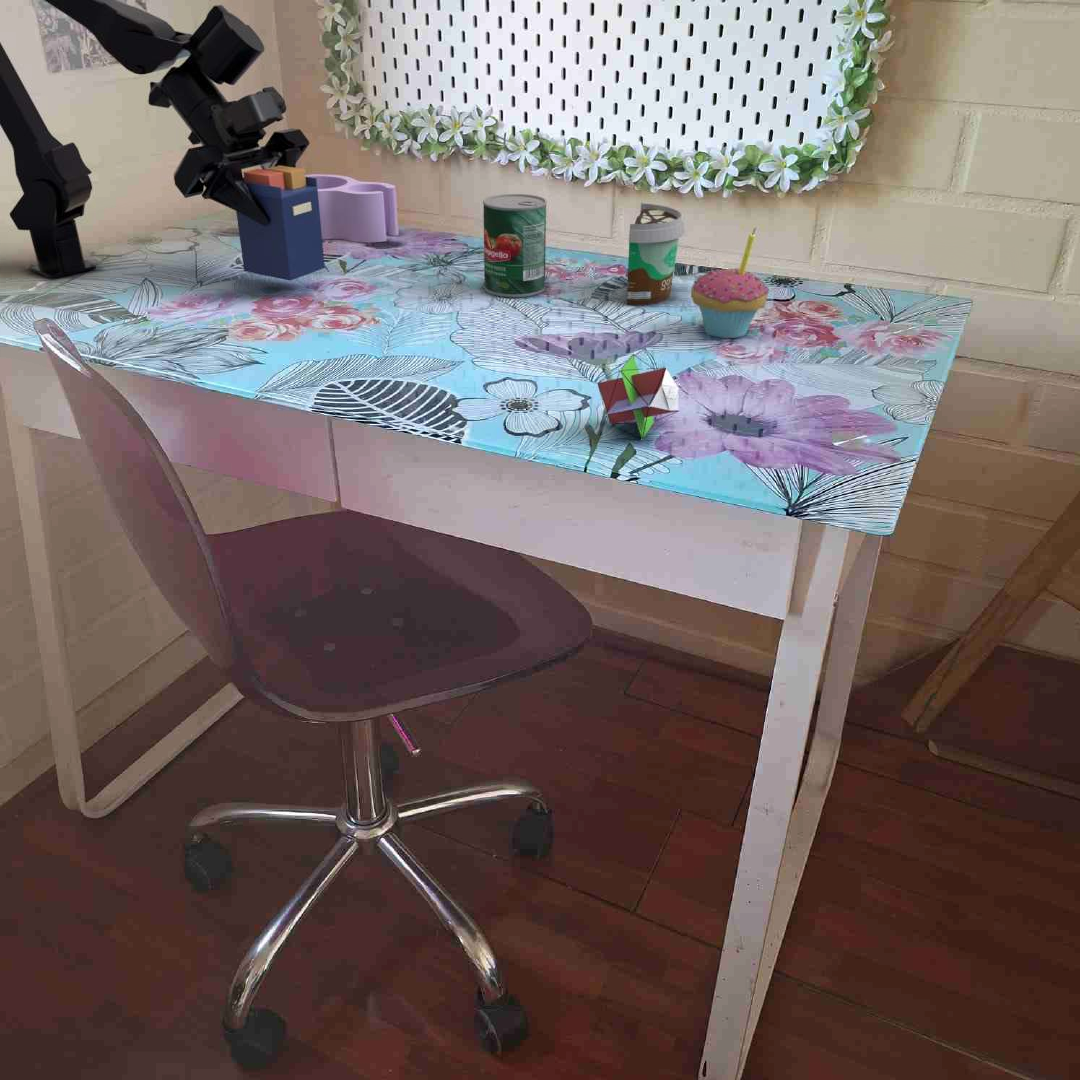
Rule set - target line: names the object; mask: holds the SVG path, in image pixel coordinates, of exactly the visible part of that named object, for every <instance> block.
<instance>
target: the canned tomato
mask: <svg viewBox="0 0 1080 1080" xmlns="http://www.w3.org/2000/svg"><path fill="white" fill-rule="evenodd" d="M482 204H483V214H482V215H483V265H484V266H483V270H484V272H483V274H484V275H483V276H484V277H483V278H484V286H483V288H484V291H485V292H486V293H488V294H490V295H493V296H497V297H501V298H527V297H534V296H537V295H539V294H542V293H544V291H546V244H547V241H546V240H547V238H546V237H547V233H546V232H547V204H548V200H546V198H544V197H542V196H538V195H534V194H526V193H505V194H504V193H502V194H496V195H491V196H488V197H486V198H484V199H483V201H482Z"/></svg>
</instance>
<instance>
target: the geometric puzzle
mask: <svg viewBox="0 0 1080 1080" xmlns="http://www.w3.org/2000/svg"><path fill="white" fill-rule="evenodd" d="M635 357H636V358H637V359H638V360H640V361H641V362H643V363H644V364H645V365H647V366H648V367H650V368H647V370H650V371H645V372H640V370H641V371H642V368H638V363H637V361H636V358H635ZM644 360H645V361H647V358H644ZM644 360H643V359H642V357H641V356H639V355H636V354H635V353H632V355H631V356H630V357H627V358H626V361H623V362H622V363H621V364H619V365H618V366H617V367H616V368H614V369H613V370H612V371H611V372H609V373H608V374H607V375H606V376H604V377H603V378H602V379H601V380H599V381H597V382H596V384H597V387H598V391H599V395H600V398H601V402H602V405H603V410H604V411H605V412H604V415H605V417H606V418H607V420H608V422H609V425H610V426H614V427H615V428H618V429H619V430H621V431H623V428H624V430H626V431H627V433H628V434H630V435H631V436H634V437H636V438H638V439H640V440H641V441H643V440H644V439H645V438H646V436H649V435H650V433H649V431H650V429H651V428H652V426H653V425H654V423H656V422H658V421H660V420H662V419H664V418H666V417H669V416H670V418H672V417H673V415H675V414H677V413H678V412H680V387H679V386H678V384H677V383H676V381H675V379H674V377H673V376H672V374H671V373H670V371H669V370H668V367H667V366H664V367H662V365H660V364H659V366H660V367H652V366H651V365H650V364H648V363H646V362H645V361H644ZM649 362H651V363H652V361H650V360H649ZM624 363H625V364H624ZM623 364H624V365H623ZM654 364H655V365H657V363H655V362H654ZM621 365H623V366H622V367H621V368H619V367H620V366H621ZM618 368H619V370H618V371H615V370H616V369H618ZM614 371H615V372H614ZM613 372H614V373H613ZM611 373H613V374H611ZM617 373H618V375H617V377H616V378H613V379H609V380H607V379H608V378H610V377H612V376H614V375H615V374H617ZM620 374H621V377H619V376H620ZM605 380H606V381H605ZM666 414H667V415H666ZM660 415H665V416H662V417H661V418H658V419H657V417H658V416H660ZM668 420H669V418H667V419H666V420H665V422H667V421H668ZM630 421H633V422H630ZM627 424H628V425H630V424H636V425H637V429H638V431H639V434H640V436H638V435H636V434H635V433H634V432H632V431H630V430H629V429H628V428H627V427H625V426H623V425H627ZM616 425H619V426H621V427H622V428H620V427H618V426H616ZM662 425H664V422H663V423H661V424H660V425H659V426H657V427H656V429H658V428H659V427H660V426H662ZM653 431H655V429H653V430H652V431H651V433H653Z"/></svg>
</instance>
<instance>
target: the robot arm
mask: <svg viewBox="0 0 1080 1080" xmlns="http://www.w3.org/2000/svg"><path fill="white" fill-rule="evenodd" d="M44 2H46V3H48V4H49V5H51V7H54V8H55V9H56V10H57V11H60V12H61V13H63V14H64V15H66V16H67V17H69V18H70V19H72V20H73V21H75V22H76V23H78V24H79V25H81V26H82V27H84V28H85V30H87V31H89V33H90V34H91V35H92V36H94V38H95V39H96V41H97V42H98V43H99V45H100V46H101V47H102V49H103V50H104V51H106V53H108V54H109V55H110V56H111V57H112V58H113V59H114V60H115V61H117V62H118V63H119V64H120V65H121V66H122V67H123V68H124V69H126V70H127V71H128V72H131V73H133V74H135V75H141V76H142V75H147V74H148V75H149V74H152V73H156V72H159V71H163V70H167V69H169V68H170V69H169V70H168V71H167V72H166V73H165V74H164V75H163V77H162V78H161V79H160V80H159V81H158V82H155V81H150V83H149V88H150V90H149V93H148V100H147V101H148V102H147V103H148V104H149V106H152V107H158V108H164V109H169V108H170V107H172V108H173V109H174V110H175V112H176V113H177V115H178V116H179V117H180V118H181V120H182V121H183V122H184V124H185V125H186V126H187V128H188V129H189V130H190V131H191V132H190V133H189V135H188V136H187V139H188V141H189V142H190V143H191V145H192V146H194V145H200V144H201V145H200V146H195V147H189V148H188V149H187V150H186V151H185V154H184V155H183V157H182V159H181V161H180V163H178V166H177V167H176V168H175V171H174V173H173V181H174V186H175V187H176V188H177V189H178V191H179V192H180V193H181V195H182V196H183V198H185V199H188V198H192V197H197V196H200V195H201V197H202V198H203V199H204V200H212V201H214V202H216V203H218V204H220V205H223V206H224V207H227V208H228V209H231V210H232V211H235V212H236V211H237V212H239V213H241V214H243V215H245V216H247V217H248V218H250V219H252V220H254V221H256V222H258V223H260V224H262V225H263V226H267V225H268V224H269V222H270V218H269V216H268V215H267V213H266V211H265V210H264V208H263V207H262V205H261V204H260V202H259V201H258V199H257V198H256V197H255V195H254V194H253V192H252V191H251V189H250V188H249V187H248V185H247V184H246V182H245V181H244V179H243V177H244V174H243V171H242V170H243V169H244V170H246V169H248V168H253V167H258V166H259V167H260V169H263V170H266V169H267V168H271V167H275V166H279V165H280V166H287V167H294V168H297V166H296V165H297V162H298V161H299V159H300V158H301V157H302V155H303V154H304V152H306V149H307V148H308V147H309V146H310V144H311V143H310V140H309V139H308V138H307V136H306V135H305V134H304V133H303V131H302V130H301V129H300V128H291V127H290V128H287V129H286V128H285V129H281V130H275V131H273V133H272V134H271V135H270V137H269V139H268V140H267V142H266V143H265V144H264V145H263V146H260V143H259V142H260V141H261V140H263V139H264V138H265V136H266V135H267V132H266V129H264V128H266V127H268V126H270V125H272V124H273V123H276V122H281V121H283V120H284V116H283V114H285V113H286V111H287V105H286V100H285V99H284V97H283V96H282V95H281V93H279V92H278V90H277V89H276V88H275V87H274V86H268V87H263V88H262V90H259V91H257V92H255V93H251V94H248V95H244V96H242V97H240V98H239V99H238V100H232V101H228V100H227V98H226V97H225V95H224V94H223V93H222V92H221V90H220V89H219V87H218V86H217V85H223V84H224V83H225V84H226V85H229V86H235V85H236V84H237V83H238V81H239V80H240V79H241V78H242V77H243V76H244V75H245V73H246V72H247V71H248V70H249V69H250V68H251V67H252V66H253V64H254V63H255V62H256V61H257V60H258V59H259V57H261V55H262V54H263V53H264V52H265V46H264V44H263V41H262V40H261V38H260V36H259V35H258V34H257V33H256V32H255V30H254V29H253V28H252V27H251V26H250V25H249V24H246V23H245V22H244V21H242V20H241V19H240V18H238V16H236V15H234V14H233V13H232V12H229V11H228V10H227V8H226V7H225V6H224V5H223V4H217V5H213V6H212V8H211V9H210V10H209V11H208V13H207V14H206V17H205V19H204V21H202V23H201V24H200V25H199V26H198V28H197V29H196V30H195V31H194V32H193V33H187V32H182V31H178V30H175V29H174V28H173V27H172V25H171V24H169V23H168V21H166V20H164V19H162V18H160V17H158V16H156V15H154V14H151V13H150V12H147V11H145V10H143V9H141V8H139V7H136V6H133V5H130V4H127V3H124V2H122V1H119V0H44ZM182 58H186V59H185V60H184V62H182V63H181V64H180V65H179V66H174V65H175V63H176V62H177V60H179V59H182ZM216 84H217V85H216ZM0 128H1V129H2V131H3V133H4V135H5V137H6V138H7V140H8V141H9V143H10V146H11V147H12V151H13V161H14V169H15V171H14V172H15V176H16V178H17V181H18V183H19V185H20V188H21V190H22V193H23V194H22V196H20V198H19V200H18V201H17V202H16V204H15V205H14V206H13V208H12V209H11V210H10V213H9V217H10V218H11V221H12V222H13V224H14V225H15V228H16V229H17V230H18V231H29V235H30V239H31V241H32V246H33V250H34V254H35V255H34V256H35V258H36V261H37V262H36V263H34V264H29V265H28V266H27V268H28V270H29V271H31V272H33V273H37V274H39V275H41V276H44V277H46V278H48V279H55V278H56V279H57V278H60V277H64V276H70V275H74V274H79V273H83V272H88V271H92V270H96V269H97V268H98V267H97V264H95V263H92V262H90V261H88V260H85V257H84V253H83V249H82V248H83V247H82V243H81V240H80V236H79V231H78V227H77V222H76V219H78V218H79V217H80V218H81V217H83V216H84V215H85V208H86V203H87V202H88V201H89V199H90V198H91V195H92V190H93V184H92V180H91V178H90V175H91V174H92V173H93V172H92V170H90V168H89V167H88V166H87V165H86V164H85V162H84V161H83V158H82V156H81V153H80V151H79V149H78V147H77V145H76V144H75V142H69V143H67V144H63V143H62V142H60V141H59V140H58V139H57V138H56V137H55V136H54V135H52V132H51V131H49V129H48V127H47V125H46V123H45V122H44V120H43V118H42V115H41V114H40V112H39V110H38V109H37V107H36V104H35V102H34V101H33V99H32V97H31V96H30V94H29V92H28V90H27V88H26V87H25V85H24V83H23V81H22V79H21V78H20V76H19V74H18V72H17V69H16V68H15V66H14V65H13V62H12V61H11V59H10V57H9V55H8V53H7V51H6V50H5V48H4V47H3V45H2V42H0Z"/></svg>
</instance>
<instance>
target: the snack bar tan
mask: <svg viewBox="0 0 1080 1080" xmlns="http://www.w3.org/2000/svg"><path fill="white" fill-rule="evenodd" d="M266 170H270V171H276V172H282V173H283V179H284V188H286V189H292V190H293V189H297V188H301V187H305V186H306V177H305V175H306V170H305V168H299V167H296V168H294V167H287V166H280V165H279V166H275V167H271V168H267V169H266Z"/></svg>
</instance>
